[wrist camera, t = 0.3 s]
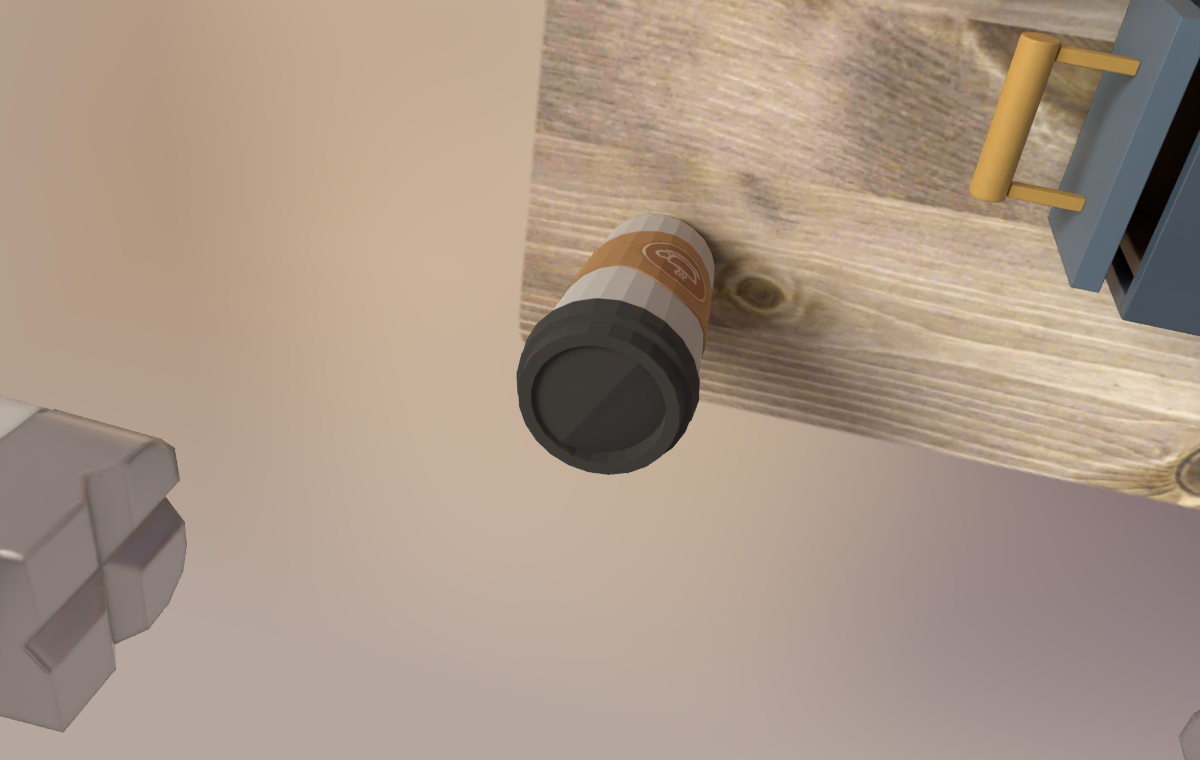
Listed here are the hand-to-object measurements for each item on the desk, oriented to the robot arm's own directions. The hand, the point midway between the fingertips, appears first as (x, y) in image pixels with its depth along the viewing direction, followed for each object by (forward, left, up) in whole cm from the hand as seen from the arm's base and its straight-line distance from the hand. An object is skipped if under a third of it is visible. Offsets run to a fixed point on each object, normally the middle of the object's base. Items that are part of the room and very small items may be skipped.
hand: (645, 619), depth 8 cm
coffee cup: (+20, -5, -47) cm, 51 cm away
